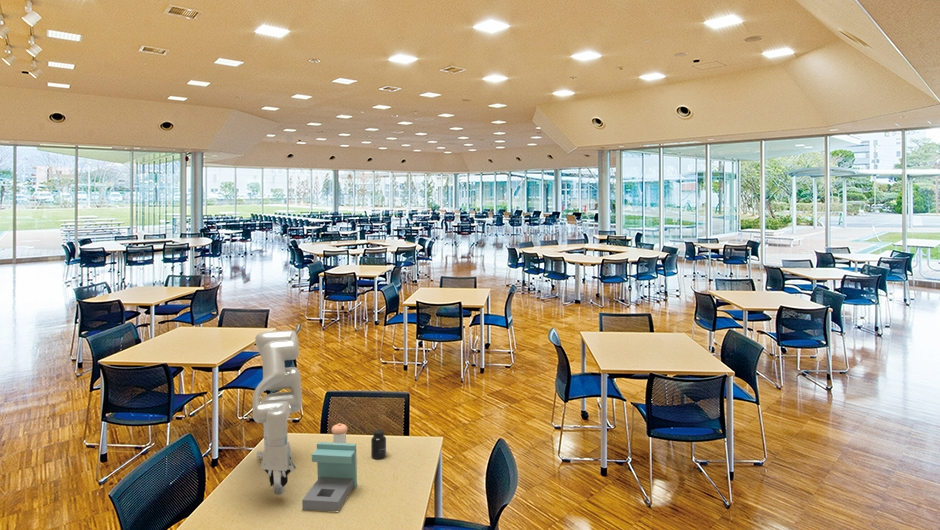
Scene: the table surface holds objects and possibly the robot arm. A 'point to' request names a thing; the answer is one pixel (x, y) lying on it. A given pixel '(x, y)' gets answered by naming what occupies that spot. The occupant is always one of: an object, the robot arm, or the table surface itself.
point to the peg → (277, 482)
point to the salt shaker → (339, 433)
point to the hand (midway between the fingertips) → (278, 484)
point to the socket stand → (332, 476)
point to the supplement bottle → (378, 445)
